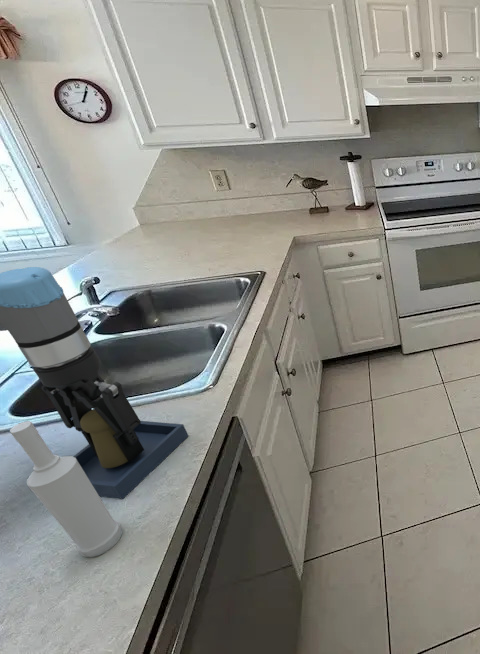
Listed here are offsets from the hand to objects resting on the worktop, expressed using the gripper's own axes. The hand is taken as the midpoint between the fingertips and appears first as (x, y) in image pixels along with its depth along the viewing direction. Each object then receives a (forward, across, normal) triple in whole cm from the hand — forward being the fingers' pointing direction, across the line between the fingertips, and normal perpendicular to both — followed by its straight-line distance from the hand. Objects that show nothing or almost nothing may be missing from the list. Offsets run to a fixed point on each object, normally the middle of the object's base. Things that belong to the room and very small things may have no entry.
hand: (121, 453), depth 80 cm
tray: (+2, 0, 0) cm, 2 cm away
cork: (0, 0, 0) cm, 0 cm away
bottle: (+2, -12, +14) cm, 19 cm away
